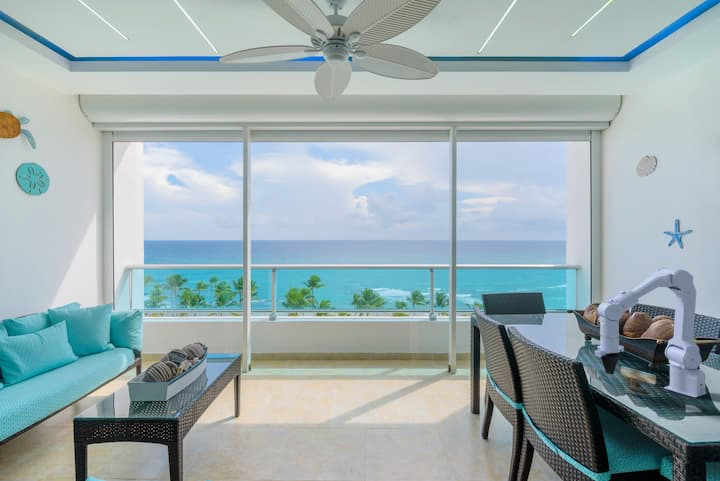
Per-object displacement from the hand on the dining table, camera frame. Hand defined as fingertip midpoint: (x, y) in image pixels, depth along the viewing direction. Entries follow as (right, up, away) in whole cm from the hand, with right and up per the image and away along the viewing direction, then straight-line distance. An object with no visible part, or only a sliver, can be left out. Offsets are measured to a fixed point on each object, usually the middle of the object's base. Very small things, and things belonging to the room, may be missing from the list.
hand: (609, 373), depth 143 cm
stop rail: (+18, -6, +10) cm, 21 cm away
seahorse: (+12, -6, +3) cm, 14 cm away
